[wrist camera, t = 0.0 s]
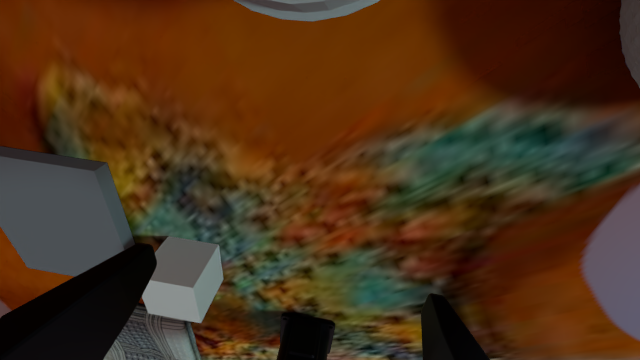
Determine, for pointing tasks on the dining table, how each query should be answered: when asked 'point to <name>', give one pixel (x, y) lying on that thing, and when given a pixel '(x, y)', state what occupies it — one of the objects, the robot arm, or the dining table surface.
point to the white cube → (184, 279)
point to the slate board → (60, 211)
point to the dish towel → (154, 338)
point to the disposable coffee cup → (306, 8)
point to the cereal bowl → (631, 36)
